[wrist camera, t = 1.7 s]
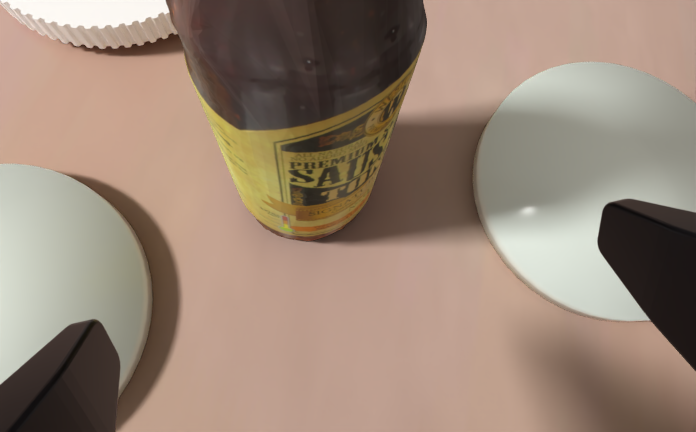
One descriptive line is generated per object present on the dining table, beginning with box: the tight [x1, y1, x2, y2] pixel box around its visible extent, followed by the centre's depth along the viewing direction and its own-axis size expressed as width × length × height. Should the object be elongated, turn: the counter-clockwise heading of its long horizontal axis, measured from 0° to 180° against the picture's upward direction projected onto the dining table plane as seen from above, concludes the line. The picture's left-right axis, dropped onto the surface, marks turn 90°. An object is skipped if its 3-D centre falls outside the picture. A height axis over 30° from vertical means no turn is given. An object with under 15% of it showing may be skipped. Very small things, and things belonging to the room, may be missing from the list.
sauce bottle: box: [166, 0, 427, 241], centre depth 13 cm, size 7×6×20 cm
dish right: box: [473, 62, 696, 322], centre depth 23 cm, size 13×13×1 cm
